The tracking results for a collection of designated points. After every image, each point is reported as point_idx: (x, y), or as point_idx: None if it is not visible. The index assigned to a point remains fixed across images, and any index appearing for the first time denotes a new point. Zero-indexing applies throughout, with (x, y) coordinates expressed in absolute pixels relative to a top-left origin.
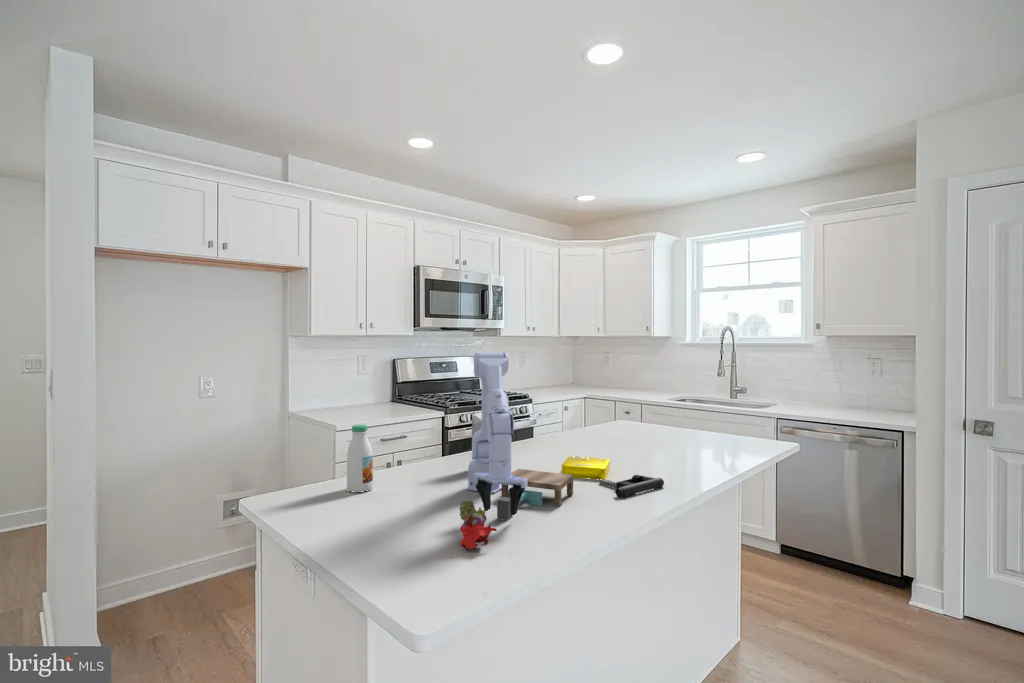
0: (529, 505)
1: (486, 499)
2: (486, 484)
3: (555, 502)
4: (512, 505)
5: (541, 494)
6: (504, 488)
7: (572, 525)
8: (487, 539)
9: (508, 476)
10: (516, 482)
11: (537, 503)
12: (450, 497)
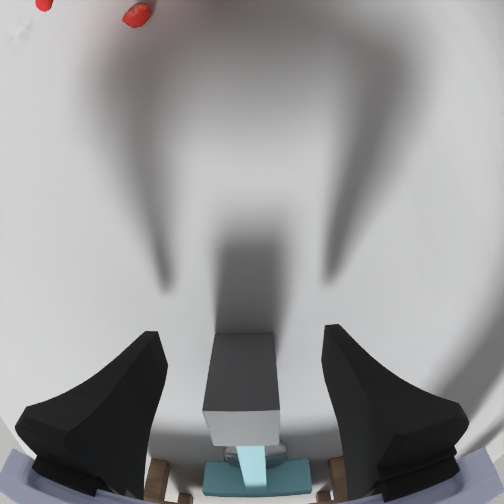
0: (224, 452)
1: (345, 380)
2: (373, 477)
3: (161, 469)
4: (119, 362)
5: (204, 489)
6: (341, 485)
7: (25, 359)
8: (125, 13)
9: None
10: (34, 492)
11: (215, 464)
12: (487, 387)
